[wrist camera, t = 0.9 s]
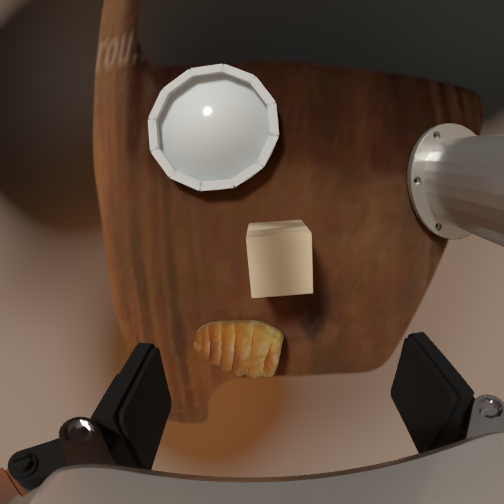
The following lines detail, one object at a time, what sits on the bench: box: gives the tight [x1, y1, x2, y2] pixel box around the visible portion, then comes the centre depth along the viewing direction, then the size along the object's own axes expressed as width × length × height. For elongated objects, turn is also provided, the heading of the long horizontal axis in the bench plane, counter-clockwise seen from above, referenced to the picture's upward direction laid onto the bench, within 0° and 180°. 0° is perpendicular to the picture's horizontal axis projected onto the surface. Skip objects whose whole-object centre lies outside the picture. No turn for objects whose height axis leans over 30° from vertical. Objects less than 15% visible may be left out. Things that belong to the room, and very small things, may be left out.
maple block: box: [246, 220, 313, 298], centre depth 27 cm, size 5×5×6 cm
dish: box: [148, 64, 279, 191], centre depth 26 cm, size 12×12×1 cm
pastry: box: [194, 320, 284, 379], centre depth 31 cm, size 9×7×4 cm
